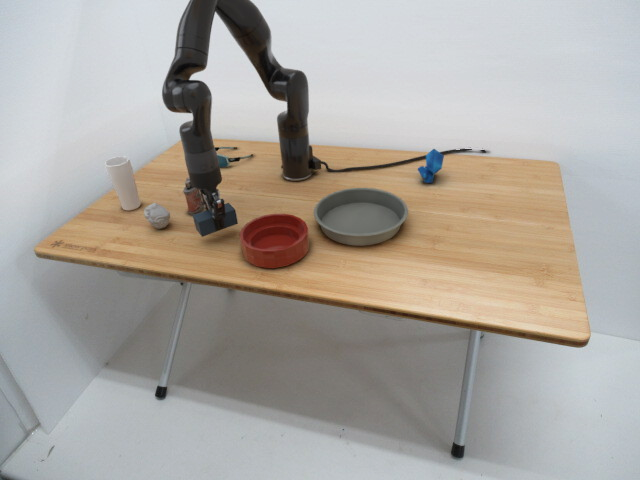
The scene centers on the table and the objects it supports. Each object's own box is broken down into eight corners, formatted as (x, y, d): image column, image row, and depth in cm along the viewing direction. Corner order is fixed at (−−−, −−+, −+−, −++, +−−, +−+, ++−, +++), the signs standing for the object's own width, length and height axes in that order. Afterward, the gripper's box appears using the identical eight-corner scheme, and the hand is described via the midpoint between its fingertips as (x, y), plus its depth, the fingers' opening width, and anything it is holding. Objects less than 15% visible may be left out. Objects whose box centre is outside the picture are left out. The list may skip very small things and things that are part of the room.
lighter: (197, 215, 133) (189, 184, 128) (186, 214, 134) (178, 183, 128) (208, 201, 140) (201, 171, 134) (197, 200, 140) (190, 170, 135)
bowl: (289, 224, 126) (287, 207, 123) (321, 253, 114) (320, 234, 111) (232, 245, 119) (229, 227, 116) (261, 278, 108) (257, 259, 104)
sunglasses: (198, 159, 165) (197, 146, 163) (234, 152, 174) (233, 138, 172) (220, 171, 156) (219, 156, 154) (256, 162, 165) (256, 148, 163)
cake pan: (420, 242, 116) (421, 226, 113) (323, 256, 113) (322, 241, 111) (391, 195, 136) (392, 181, 133) (308, 207, 133) (307, 193, 131)
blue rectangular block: (231, 216, 125) (228, 202, 122) (238, 223, 121) (235, 209, 119) (196, 229, 121) (192, 215, 118) (202, 237, 117) (198, 222, 115)
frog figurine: (158, 219, 133) (151, 198, 129) (178, 223, 130) (172, 201, 126) (143, 230, 128) (136, 208, 124) (164, 234, 126) (157, 212, 122)
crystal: (417, 167, 135) (419, 142, 143) (416, 189, 141) (418, 164, 149) (443, 168, 134) (444, 143, 141) (441, 190, 140) (442, 165, 148)
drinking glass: (148, 203, 141) (134, 157, 133) (132, 214, 136) (116, 167, 128) (131, 199, 144) (116, 154, 135) (115, 210, 139) (98, 164, 130)
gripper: (229, 171, 107) (241, 232, 117) (207, 151, 118) (219, 209, 127) (198, 180, 104) (213, 242, 114) (178, 159, 115) (193, 218, 124)
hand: (216, 224), depth 121 cm, fingers closed on blue rectangular block, 4 cm apart
